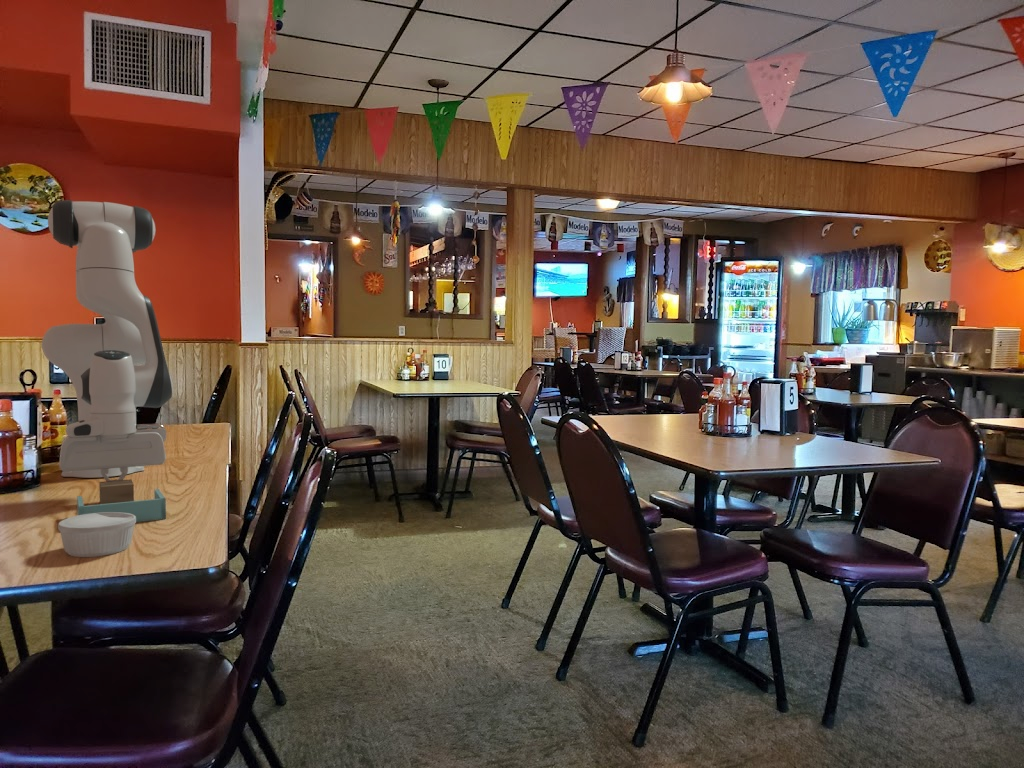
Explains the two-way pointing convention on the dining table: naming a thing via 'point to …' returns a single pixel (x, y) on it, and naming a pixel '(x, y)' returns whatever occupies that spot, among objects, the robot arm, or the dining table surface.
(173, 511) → the dining table surface
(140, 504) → the box
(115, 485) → the walnut tile block
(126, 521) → the ramekin
